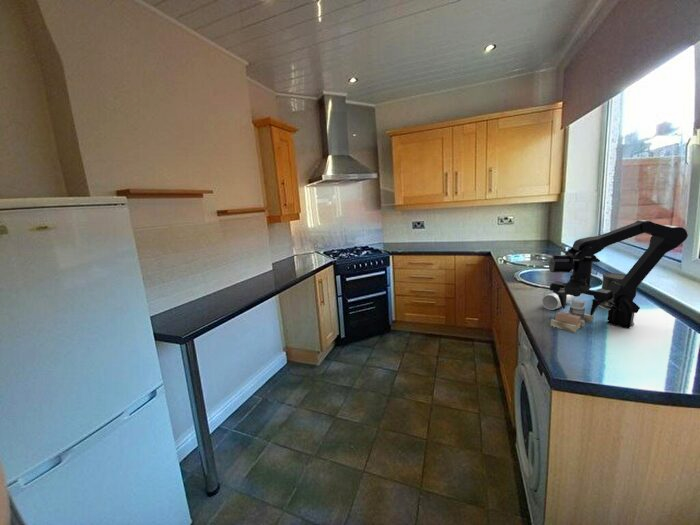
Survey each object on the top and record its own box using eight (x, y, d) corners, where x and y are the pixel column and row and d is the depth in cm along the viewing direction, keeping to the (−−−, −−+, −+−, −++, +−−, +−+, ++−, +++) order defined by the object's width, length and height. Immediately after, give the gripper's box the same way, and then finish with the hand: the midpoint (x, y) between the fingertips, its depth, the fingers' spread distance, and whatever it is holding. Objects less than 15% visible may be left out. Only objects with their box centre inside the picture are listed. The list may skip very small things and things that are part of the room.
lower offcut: (579, 329, 113) (580, 323, 112) (576, 331, 111) (577, 325, 111) (558, 323, 118) (559, 317, 118) (555, 325, 117) (555, 319, 116)
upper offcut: (580, 322, 112) (580, 316, 112) (577, 325, 111) (577, 318, 110) (558, 317, 118) (559, 311, 117) (555, 319, 116) (556, 313, 116)
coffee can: (634, 313, 123) (639, 280, 120) (601, 310, 128) (606, 278, 125) (626, 305, 132) (630, 274, 129) (596, 302, 137) (600, 272, 134)
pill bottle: (568, 318, 122) (571, 298, 120) (583, 320, 119) (586, 300, 117) (567, 322, 118) (570, 301, 117) (582, 325, 115) (585, 304, 114)
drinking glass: (572, 306, 137) (555, 312, 129) (557, 299, 142) (539, 305, 134) (578, 292, 134) (560, 298, 127) (561, 286, 140) (544, 291, 132)
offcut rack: (592, 321, 118) (593, 315, 117) (574, 333, 109) (575, 326, 109) (569, 315, 124) (569, 309, 124) (550, 326, 116) (551, 319, 115)
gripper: (544, 272, 118) (541, 310, 121) (604, 281, 103) (598, 324, 106) (557, 267, 124) (554, 303, 127) (616, 275, 108) (610, 316, 112)
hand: (577, 311), depth 118 cm, fingers open, 9 cm apart
